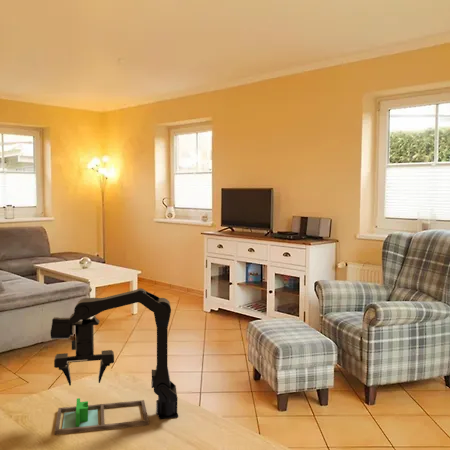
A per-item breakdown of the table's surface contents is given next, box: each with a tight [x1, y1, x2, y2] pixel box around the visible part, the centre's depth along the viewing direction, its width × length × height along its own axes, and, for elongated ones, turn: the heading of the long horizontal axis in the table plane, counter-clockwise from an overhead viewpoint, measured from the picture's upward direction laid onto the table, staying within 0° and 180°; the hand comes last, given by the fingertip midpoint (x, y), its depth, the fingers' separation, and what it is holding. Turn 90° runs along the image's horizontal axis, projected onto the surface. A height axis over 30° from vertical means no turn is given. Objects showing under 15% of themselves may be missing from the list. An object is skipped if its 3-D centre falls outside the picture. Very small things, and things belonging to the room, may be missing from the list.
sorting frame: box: [54, 399, 150, 435], centre depth 160 cm, size 29×16×1 cm, turn 105°
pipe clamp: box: [75, 397, 89, 427], centre depth 159 cm, size 11×4×5 cm, turn 16°
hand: (84, 383), depth 159 cm, fingers open, 9 cm apart
